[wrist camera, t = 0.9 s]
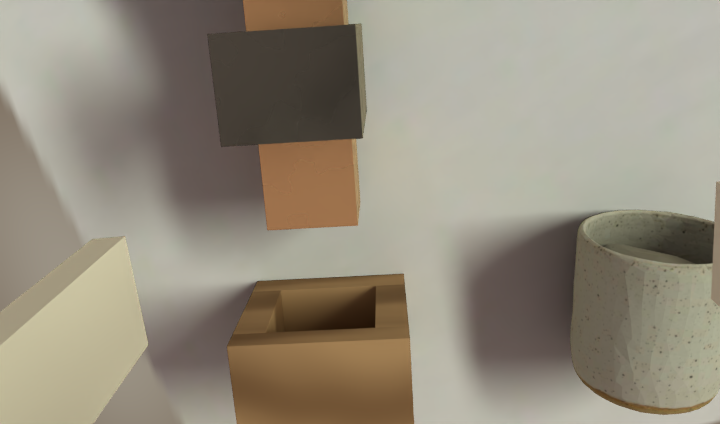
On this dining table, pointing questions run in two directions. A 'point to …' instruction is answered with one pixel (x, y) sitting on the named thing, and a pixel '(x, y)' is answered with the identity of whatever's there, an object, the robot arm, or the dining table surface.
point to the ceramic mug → (646, 311)
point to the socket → (323, 352)
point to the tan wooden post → (296, 106)
